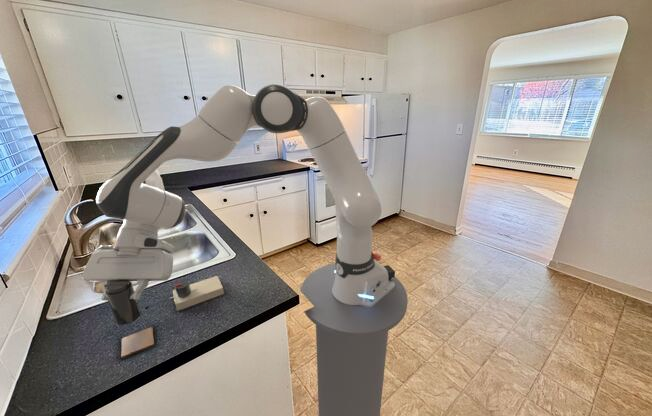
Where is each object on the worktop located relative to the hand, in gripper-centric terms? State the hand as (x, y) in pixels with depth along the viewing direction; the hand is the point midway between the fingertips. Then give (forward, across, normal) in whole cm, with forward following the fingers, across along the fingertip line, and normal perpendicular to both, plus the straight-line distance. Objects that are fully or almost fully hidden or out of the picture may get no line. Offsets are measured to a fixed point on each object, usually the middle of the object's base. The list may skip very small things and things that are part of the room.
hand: (120, 300), depth 65 cm
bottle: (-67, -55, +88) cm, 123 cm away
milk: (-60, -48, +81) cm, 111 cm away
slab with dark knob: (-3, +8, +24) cm, 25 cm away
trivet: (+10, 0, +11) cm, 15 cm away
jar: (+4, 0, +5) cm, 6 cm away
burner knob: (-3, +5, +20) cm, 21 cm away
